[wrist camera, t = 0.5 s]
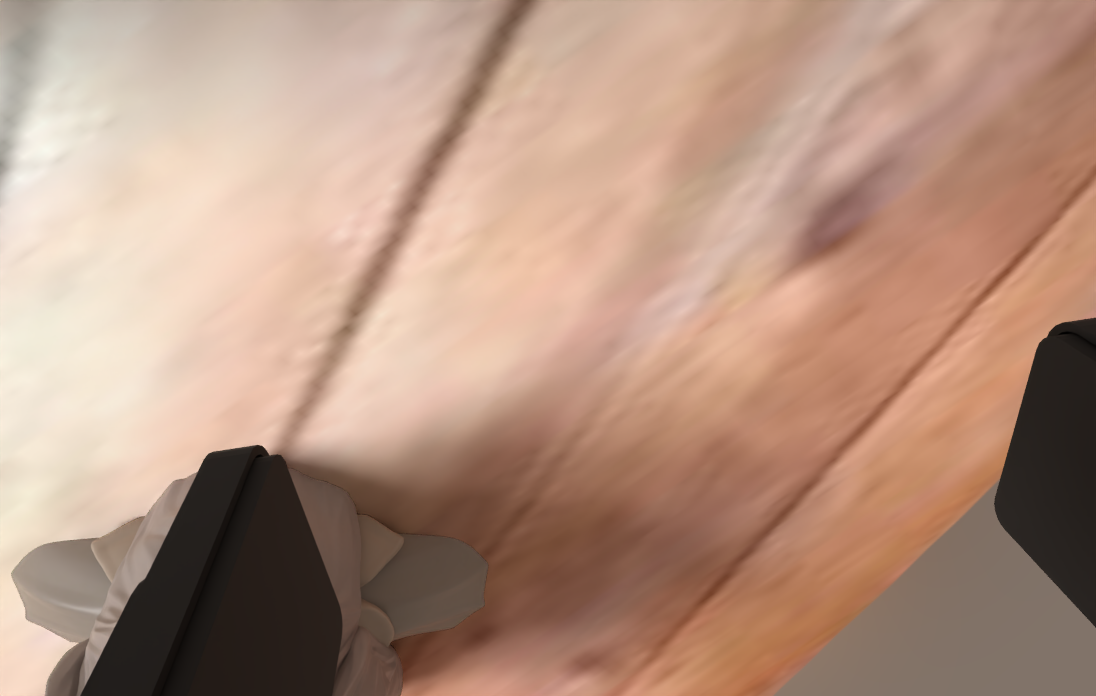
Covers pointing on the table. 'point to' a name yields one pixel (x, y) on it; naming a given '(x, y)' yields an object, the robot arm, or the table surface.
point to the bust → (347, 552)
